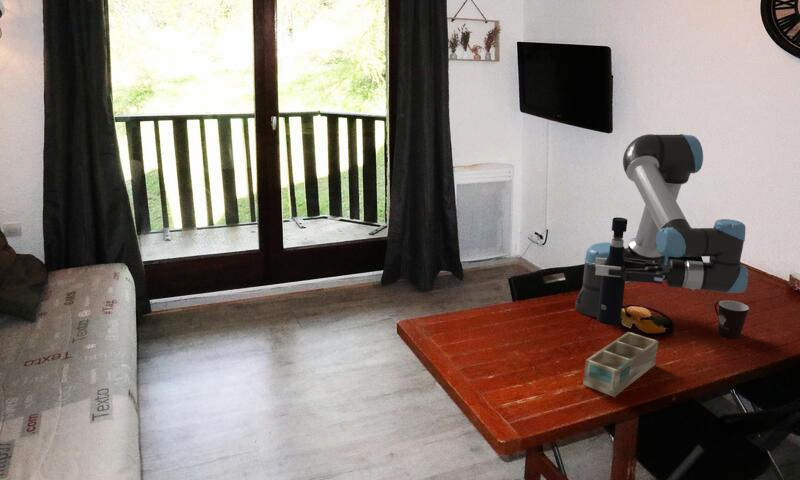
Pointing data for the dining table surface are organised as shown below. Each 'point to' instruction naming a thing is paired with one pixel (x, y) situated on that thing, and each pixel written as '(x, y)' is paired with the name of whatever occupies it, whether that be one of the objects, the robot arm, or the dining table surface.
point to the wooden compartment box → (620, 363)
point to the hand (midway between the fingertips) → (595, 266)
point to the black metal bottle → (613, 278)
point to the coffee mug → (731, 318)
